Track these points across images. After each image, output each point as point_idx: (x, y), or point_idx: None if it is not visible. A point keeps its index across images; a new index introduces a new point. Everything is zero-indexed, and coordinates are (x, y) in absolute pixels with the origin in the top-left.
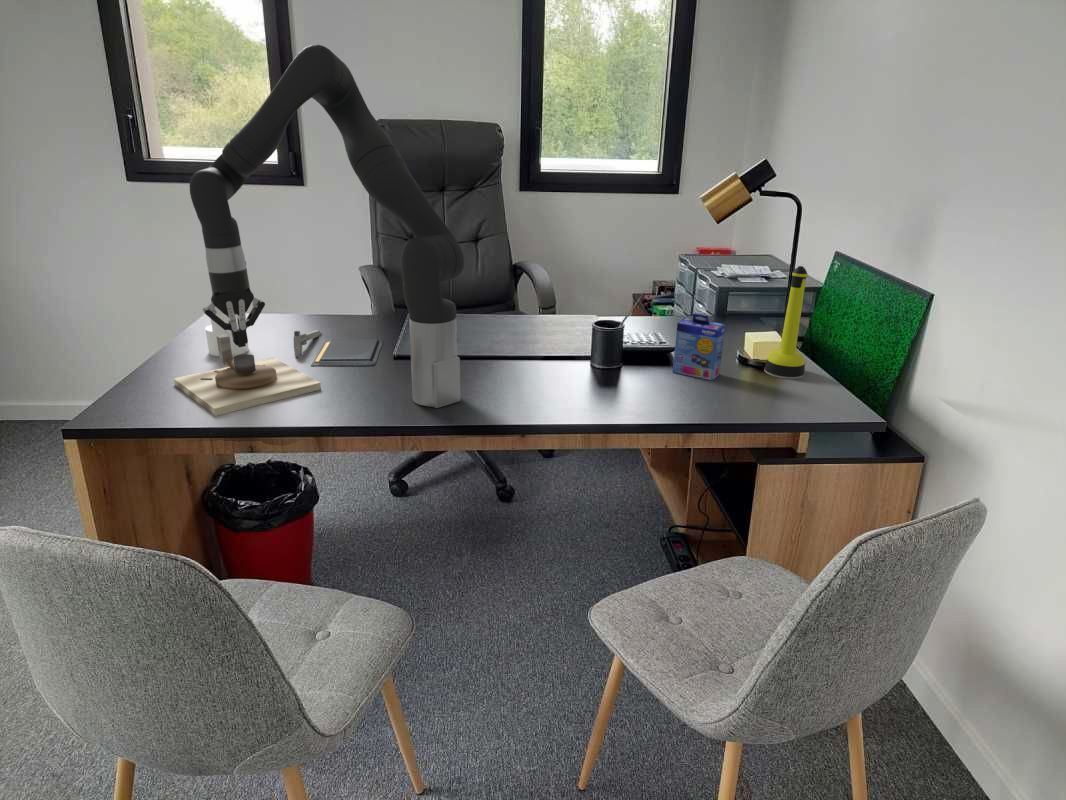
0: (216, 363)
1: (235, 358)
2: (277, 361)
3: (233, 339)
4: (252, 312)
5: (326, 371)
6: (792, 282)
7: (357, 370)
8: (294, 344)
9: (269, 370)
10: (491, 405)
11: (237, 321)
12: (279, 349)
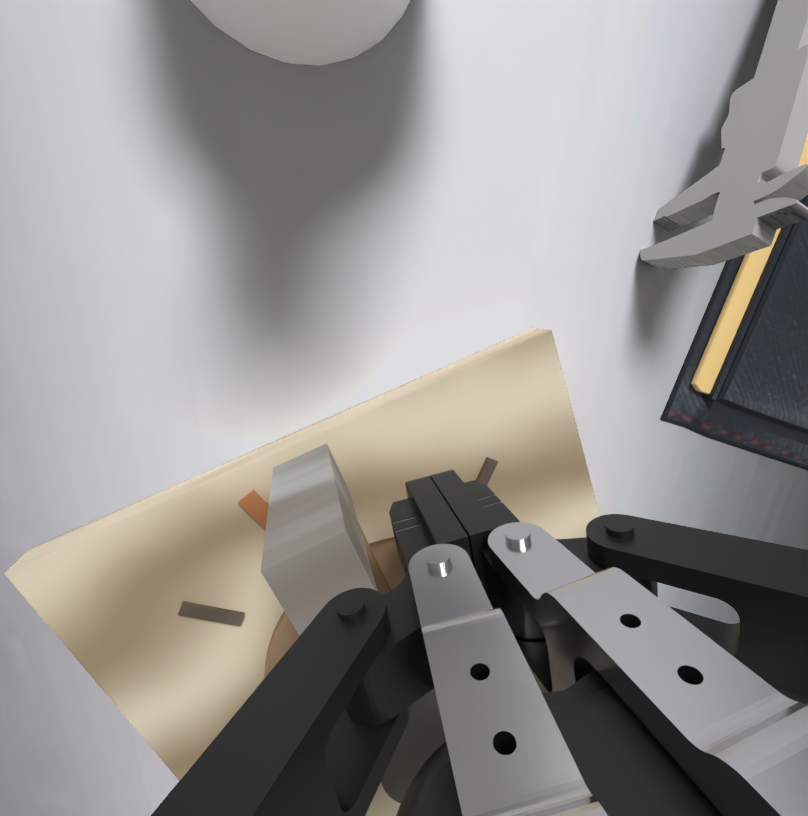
0: (225, 210)
1: (392, 784)
2: (558, 409)
3: (400, 555)
4: (756, 658)
5: (692, 495)
6: None
7: (780, 507)
8: (702, 255)
9: None
10: None
11: (514, 584)
12: (597, 49)
